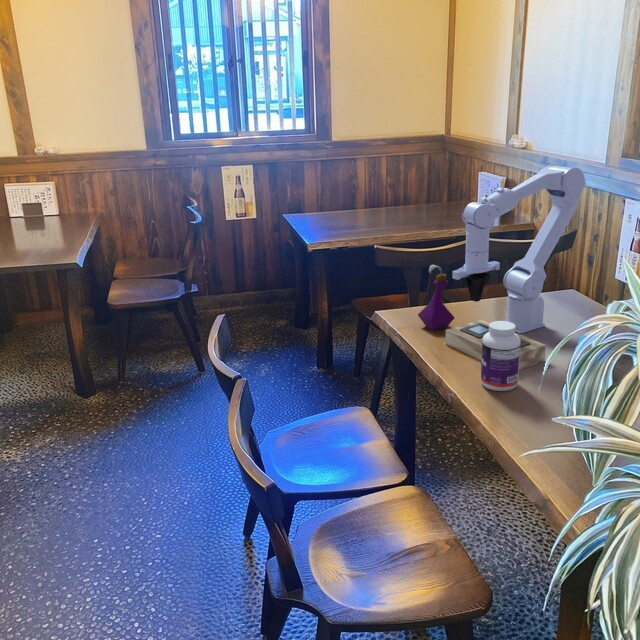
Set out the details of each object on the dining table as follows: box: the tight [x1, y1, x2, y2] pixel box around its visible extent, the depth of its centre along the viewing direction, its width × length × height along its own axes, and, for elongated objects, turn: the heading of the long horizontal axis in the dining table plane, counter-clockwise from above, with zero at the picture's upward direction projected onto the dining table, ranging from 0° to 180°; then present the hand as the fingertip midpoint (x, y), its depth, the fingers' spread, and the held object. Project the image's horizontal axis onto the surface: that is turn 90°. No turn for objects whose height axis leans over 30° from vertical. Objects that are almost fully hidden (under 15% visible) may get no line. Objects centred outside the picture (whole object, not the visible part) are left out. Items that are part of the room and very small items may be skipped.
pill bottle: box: [480, 320, 521, 392], centre depth 136 cm, size 8×8×14 cm
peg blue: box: [468, 326, 489, 335], centre depth 159 cm, size 4×4×4 cm
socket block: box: [445, 319, 547, 370], centre depth 155 cm, size 12×22×4 cm, turn 30°
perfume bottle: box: [417, 264, 455, 331], centre depth 171 cm, size 8×8×18 cm
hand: (475, 300), depth 163 cm, fingers closed
